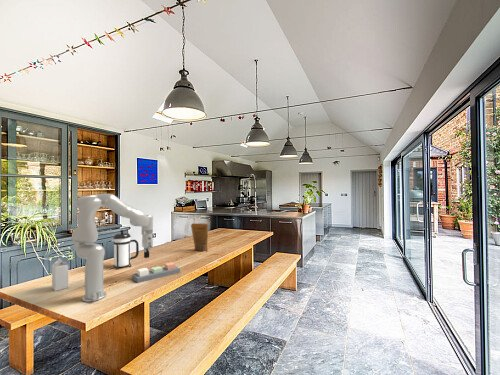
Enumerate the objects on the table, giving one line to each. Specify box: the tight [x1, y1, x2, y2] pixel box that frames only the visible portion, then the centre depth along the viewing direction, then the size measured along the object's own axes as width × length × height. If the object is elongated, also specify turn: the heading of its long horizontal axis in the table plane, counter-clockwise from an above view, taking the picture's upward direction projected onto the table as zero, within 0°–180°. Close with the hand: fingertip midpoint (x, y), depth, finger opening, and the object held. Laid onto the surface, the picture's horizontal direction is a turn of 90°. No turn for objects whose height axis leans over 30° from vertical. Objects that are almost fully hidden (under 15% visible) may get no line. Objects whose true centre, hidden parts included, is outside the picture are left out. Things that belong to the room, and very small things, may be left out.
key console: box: [131, 265, 181, 284], centre depth 189 cm, size 12×31×3 cm, turn 131°
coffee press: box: [111, 229, 140, 270], centre depth 211 cm, size 17×16×30 cm
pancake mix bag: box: [190, 222, 209, 252], centre depth 259 cm, size 7×19×28 cm, turn 65°
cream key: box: [136, 267, 150, 277], centre depth 182 cm, size 6×6×5 cm
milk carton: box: [51, 257, 69, 292], centre depth 167 cm, size 7×7×19 cm
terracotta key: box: [163, 261, 176, 270], centre depth 196 cm, size 6×6×5 cm
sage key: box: [150, 266, 162, 273], centre depth 189 cm, size 6×6×5 cm
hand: (146, 257), depth 185 cm, fingers closed
